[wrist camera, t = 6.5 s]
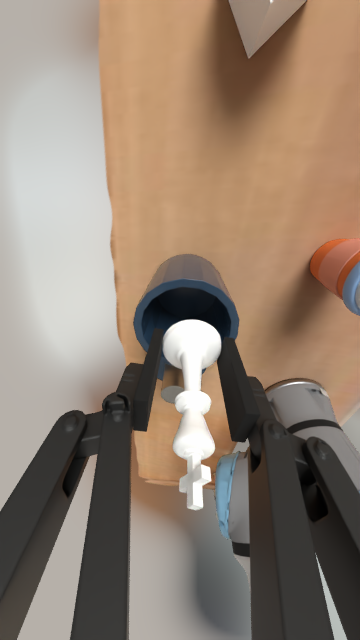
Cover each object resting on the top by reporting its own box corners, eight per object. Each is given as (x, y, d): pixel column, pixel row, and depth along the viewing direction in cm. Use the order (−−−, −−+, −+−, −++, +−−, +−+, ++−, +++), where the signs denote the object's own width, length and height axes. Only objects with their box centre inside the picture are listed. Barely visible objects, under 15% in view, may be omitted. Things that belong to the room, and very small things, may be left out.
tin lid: (201, 382, 44) (204, 420, 36) (146, 376, 44) (137, 413, 36) (212, 339, 38) (218, 373, 30) (147, 331, 37) (136, 364, 29)
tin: (214, 323, 36) (225, 372, 25) (150, 316, 35) (134, 361, 25) (229, 259, 29) (253, 287, 19) (152, 249, 29) (132, 272, 18)
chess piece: (152, 350, 16) (111, 509, 7) (181, 308, 14) (170, 464, 5) (199, 373, 17) (209, 533, 9) (233, 337, 15) (293, 504, 6)
